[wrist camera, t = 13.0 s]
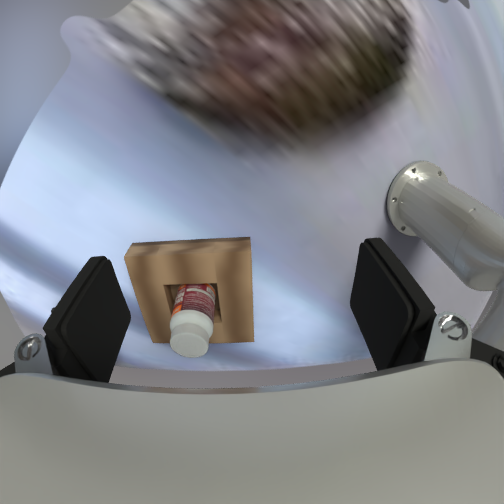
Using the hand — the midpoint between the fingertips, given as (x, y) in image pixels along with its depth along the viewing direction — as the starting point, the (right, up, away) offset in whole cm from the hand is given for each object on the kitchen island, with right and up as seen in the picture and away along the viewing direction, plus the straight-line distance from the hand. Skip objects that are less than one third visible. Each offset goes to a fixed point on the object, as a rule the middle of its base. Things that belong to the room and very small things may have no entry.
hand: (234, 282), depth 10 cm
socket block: (-8, -5, +35) cm, 36 cm away
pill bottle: (-8, -5, +34) cm, 36 cm away
